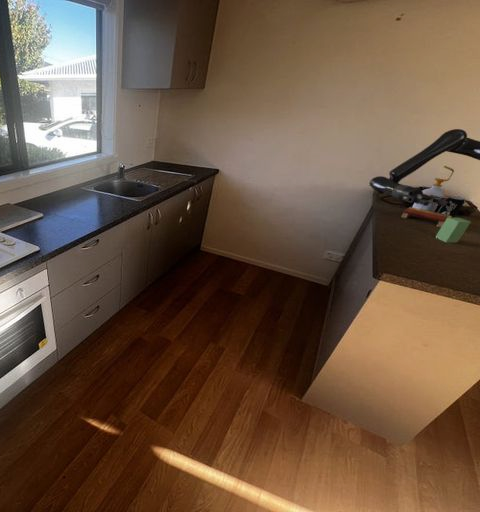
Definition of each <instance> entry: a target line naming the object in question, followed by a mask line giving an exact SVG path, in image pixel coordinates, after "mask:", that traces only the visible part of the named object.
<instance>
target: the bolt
mask: <svg viewBox="0 0 480 512" xmlns="http://www.w3.org/2000/svg"><path fill="white" fill-rule="evenodd" d="M475 208H476V205H475V204H470V205H469V206H468V205H462V207H461V208H460V210H459V211H458V212H460V213H461V212H462V213H465V215H466V216H470V215H471V214H472V213H473V211H474V210H475Z"/></svg>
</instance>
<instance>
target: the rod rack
mask: <svg viewBox="0 0 480 512" xmlns="http://www.w3.org/2000/svg"><path fill="white" fill-rule="evenodd" d="M413 215H414V216H417V217H423V218H426V219H431V220H435V221H438V223H437V224H436V227H438V228H441V227H442V226H443V224H444V222H445V221H446V219H447V218H452V216H449V215H444V214H440V213H437V212H436V211H434V212H431V211H426V210H422V209H417V208H413V207H412V206H409V207H406V208H405V209H404V211H403V212H402V214H401V216H400V217H401V218H404V219H407V218H410V217H412V216H413Z"/></svg>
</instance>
